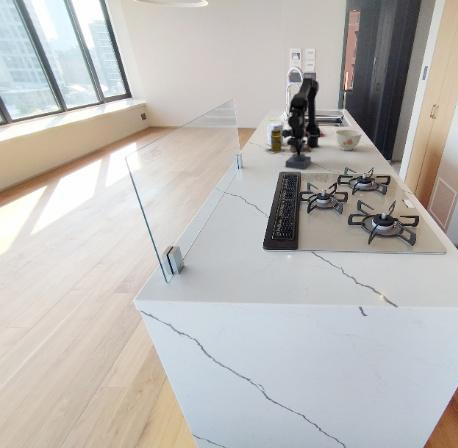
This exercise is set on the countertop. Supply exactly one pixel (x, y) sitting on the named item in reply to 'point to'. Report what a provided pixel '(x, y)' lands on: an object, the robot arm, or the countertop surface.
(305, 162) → the dispenser
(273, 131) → the condiment
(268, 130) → the white packaging box
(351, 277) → the countertop surface
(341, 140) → the bowl
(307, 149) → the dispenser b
